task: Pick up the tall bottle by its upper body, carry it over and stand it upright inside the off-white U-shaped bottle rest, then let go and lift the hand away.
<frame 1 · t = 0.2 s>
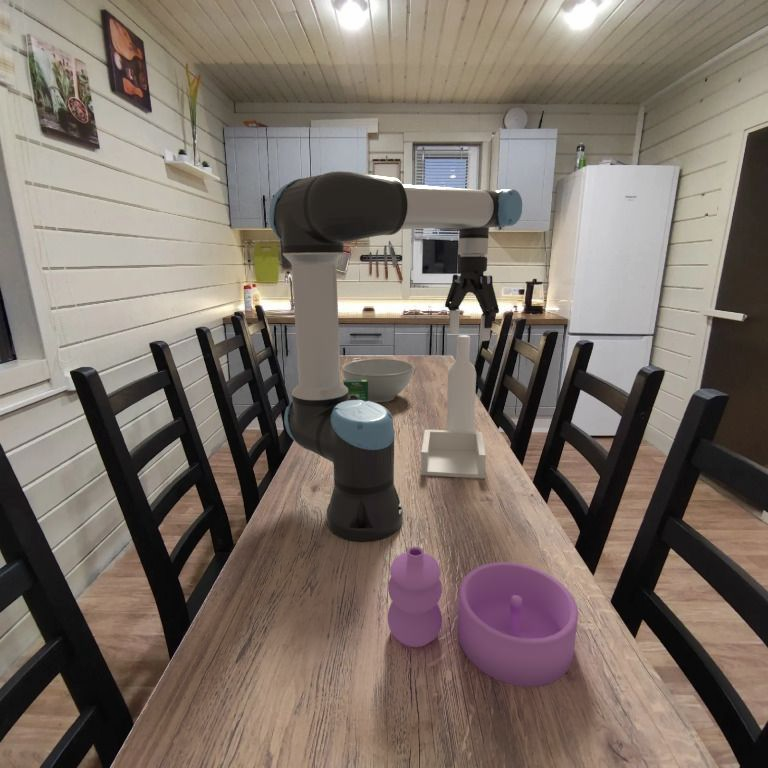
hand: (468, 337, 125), 30 cm above the table, tool pointing down, fingers open, 13 cm apart
bottle: (459, 439, 132), on the table
coffee box: (356, 419, 149), on the table
decorative bowl: (378, 398, 172), on the table
container set: (477, 637, 63), on the table
bottle rest: (452, 463, 116), on the table
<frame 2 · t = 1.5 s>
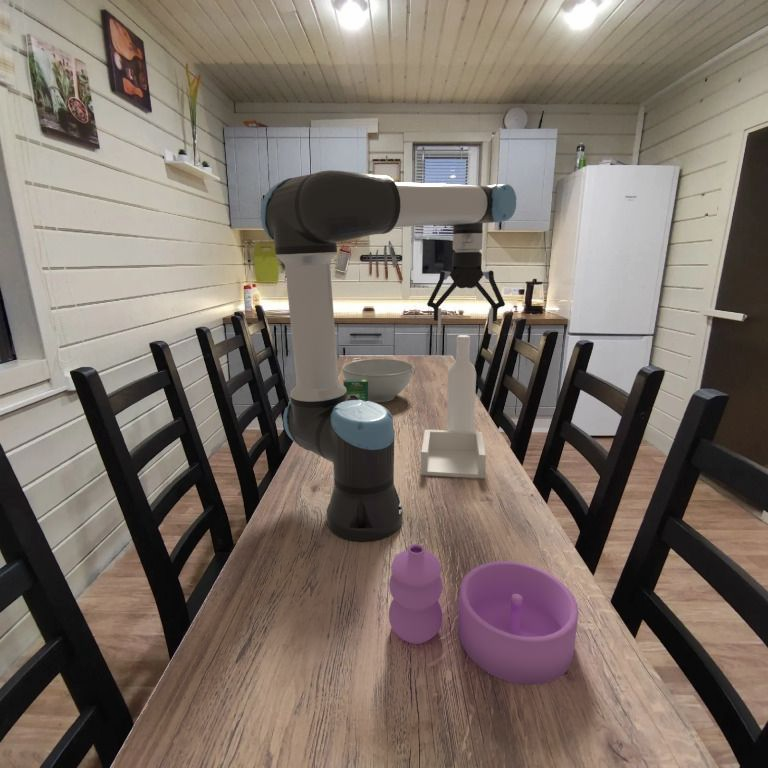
hand: (464, 333, 124), 31 cm above the table, tool pointing down, fingers open, 13 cm apart
nothing on the table moved.
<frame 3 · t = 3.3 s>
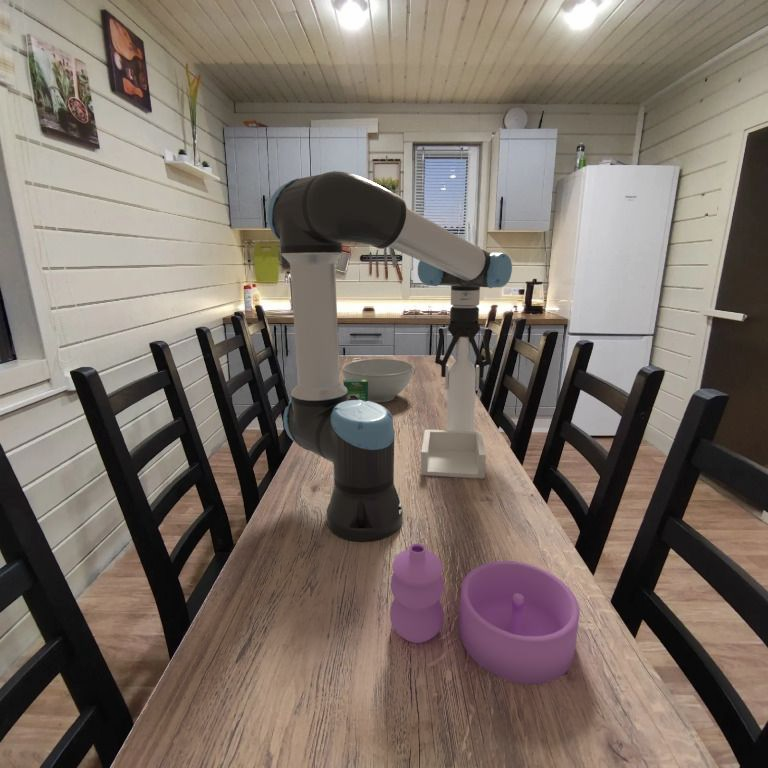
hand: (461, 388, 128), 15 cm above the table, tool pointing down, fingers closed on bottle, 8 cm apart
bottle: (459, 439, 132), on the table, touching gripper
everything else where it was.
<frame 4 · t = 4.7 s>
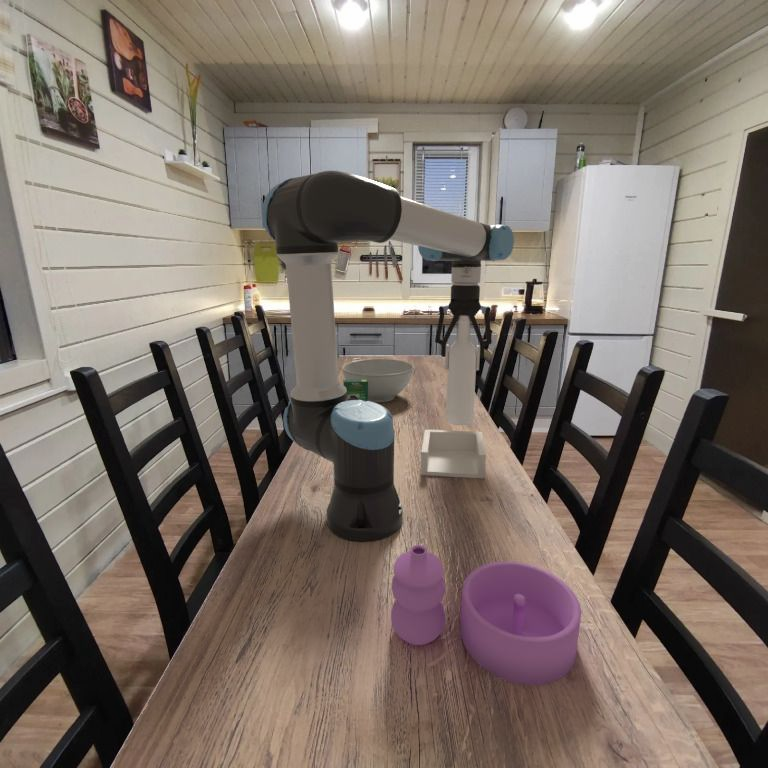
hand: (461, 368, 126), 21 cm above the table, tool pointing down, fingers closed on bottle, 8 cm apart
bottle: (459, 421, 130), point 6 cm above the table, touching gripper
everything else where it was.
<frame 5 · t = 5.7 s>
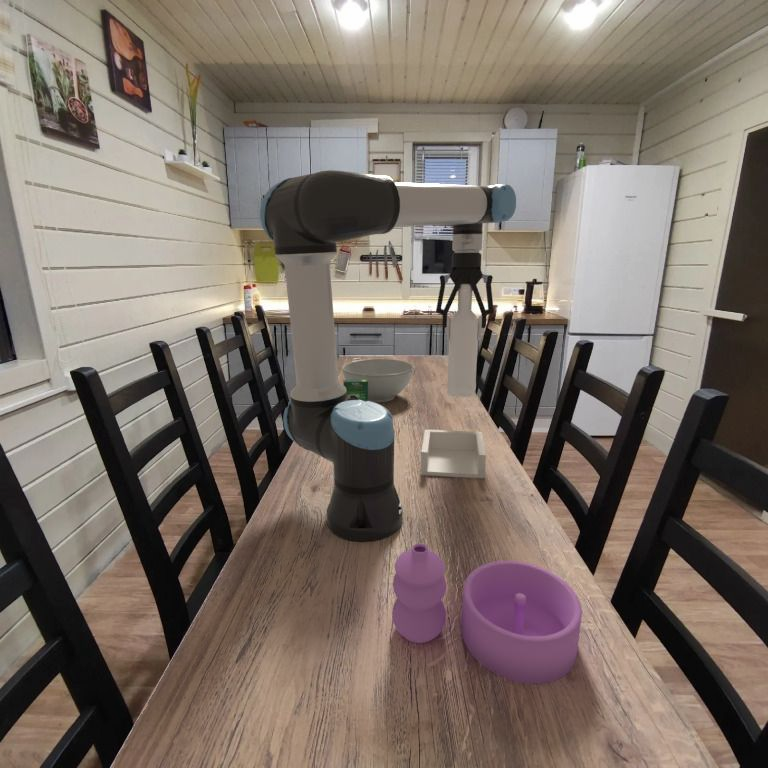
hand: (463, 339, 124), 29 cm above the table, tool pointing down, fingers closed on bottle, 8 cm apart
bottle: (461, 393, 128), point 14 cm above the table, touching gripper
everything else where it was.
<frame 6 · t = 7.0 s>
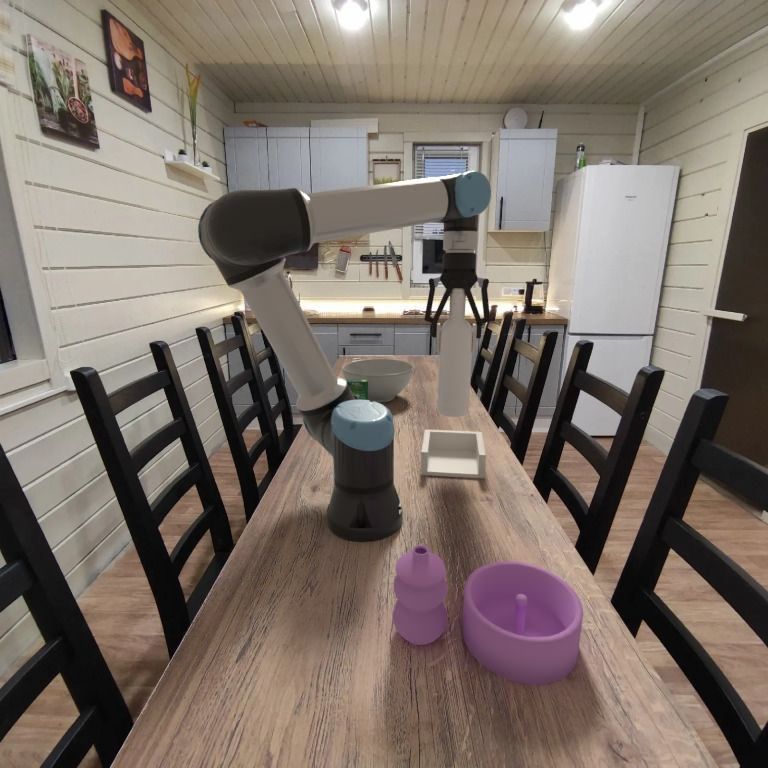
hand: (455, 351, 109), 29 cm above the table, tool pointing down, fingers closed on bottle, 8 cm apart
bottle: (452, 412, 113), point 14 cm above the table, touching gripper
everything else where it was.
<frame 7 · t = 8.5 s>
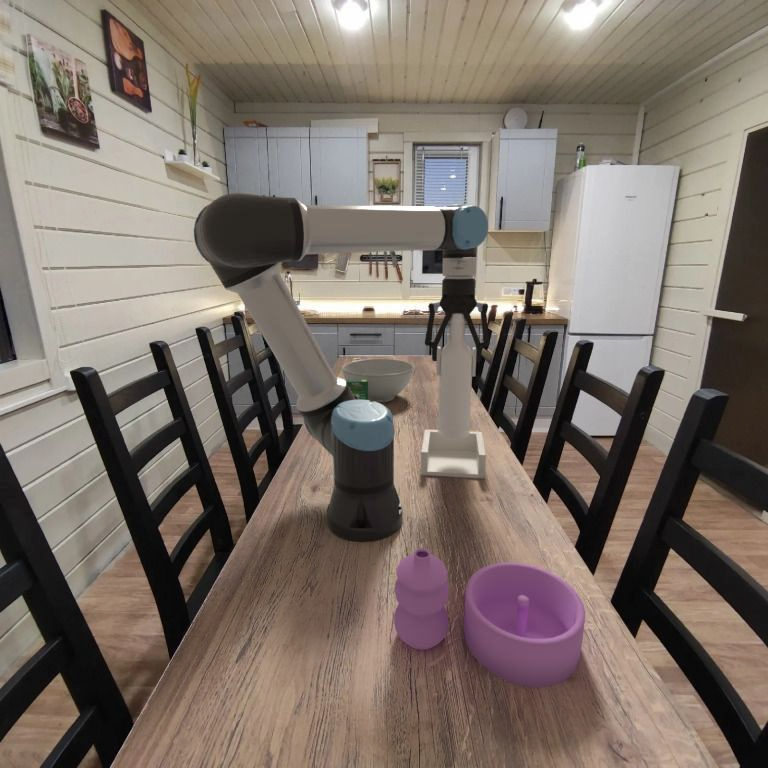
hand: (455, 374, 110), 23 cm above the table, tool pointing down, fingers closed on bottle, 8 cm apart
bottle: (453, 434, 114), point 8 cm above the table, touching gripper
everything else where it was.
when the fingers open (18 cm above the table, at t = 10.9 s): bottle drops 1 cm, resting on bottle rest.
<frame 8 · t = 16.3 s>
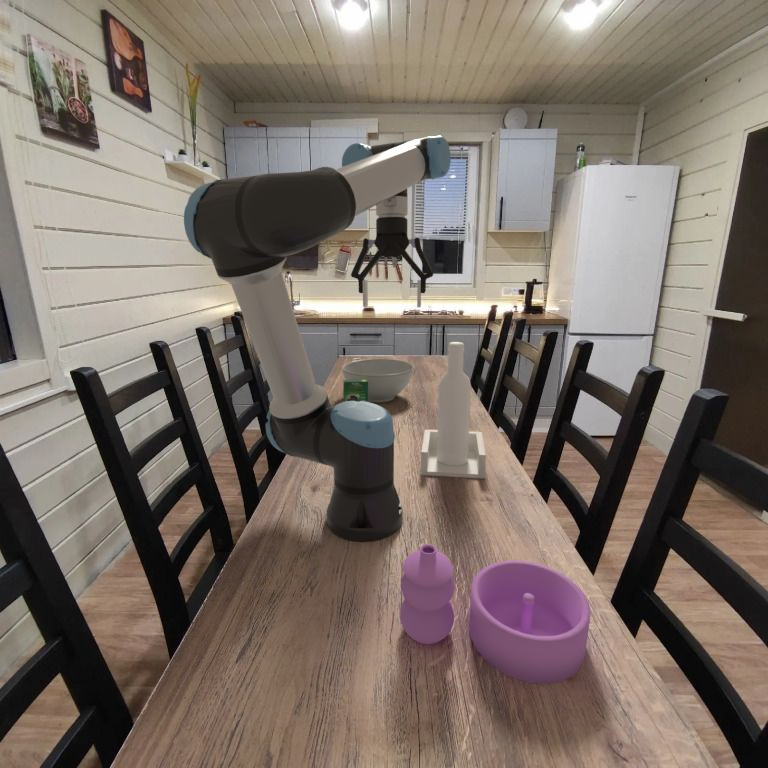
hand: (392, 306, 115), 39 cm above the table, tool pointing down, fingers open, 13 cm apart
bottle: (452, 460, 116), point 1 cm above the table, touching bottle rest
container set: (489, 634, 64), on the table
everything else where it was.
at the end: bottle 0.1 cm off-centre on the bottle rest, point 0.8 cm above the bottle rest's base; bottle tilted 0°; the gripper is holding nothing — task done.
